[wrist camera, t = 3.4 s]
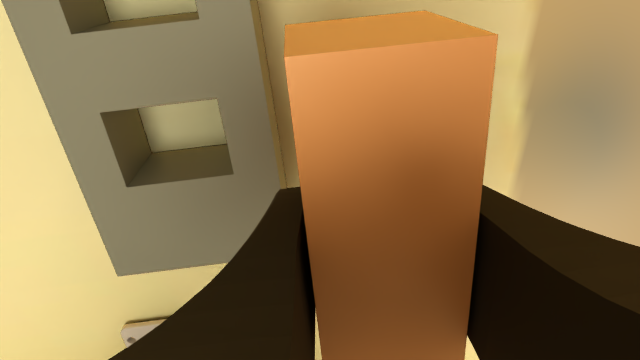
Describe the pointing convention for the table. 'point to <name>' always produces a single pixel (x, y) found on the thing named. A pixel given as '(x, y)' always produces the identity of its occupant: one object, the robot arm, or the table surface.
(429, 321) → the orange c-shaped bracket
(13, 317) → the table surface
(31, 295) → the table surface
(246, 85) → the socket rail
